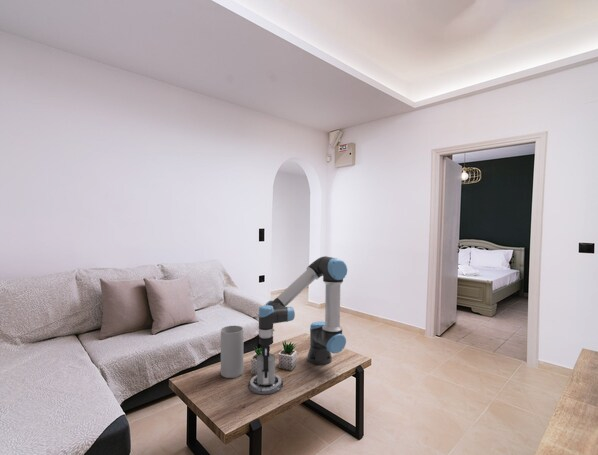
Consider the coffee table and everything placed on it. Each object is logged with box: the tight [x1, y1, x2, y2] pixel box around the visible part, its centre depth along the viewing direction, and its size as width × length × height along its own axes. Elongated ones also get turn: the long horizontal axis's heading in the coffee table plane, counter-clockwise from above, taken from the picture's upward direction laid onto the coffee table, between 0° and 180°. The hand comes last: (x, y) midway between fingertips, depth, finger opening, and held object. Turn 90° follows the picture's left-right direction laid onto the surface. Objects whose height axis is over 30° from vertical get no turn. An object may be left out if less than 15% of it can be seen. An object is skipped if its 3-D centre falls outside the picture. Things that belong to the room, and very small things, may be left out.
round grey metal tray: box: [248, 373, 284, 396], centre depth 165 cm, size 18×18×2 cm
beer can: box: [256, 352, 276, 385], centre depth 165 cm, size 10×10×12 cm
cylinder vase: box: [220, 325, 244, 379], centre depth 178 cm, size 12×12×25 cm
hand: (265, 378), depth 165 cm, fingers closed on beer can, 9 cm apart
